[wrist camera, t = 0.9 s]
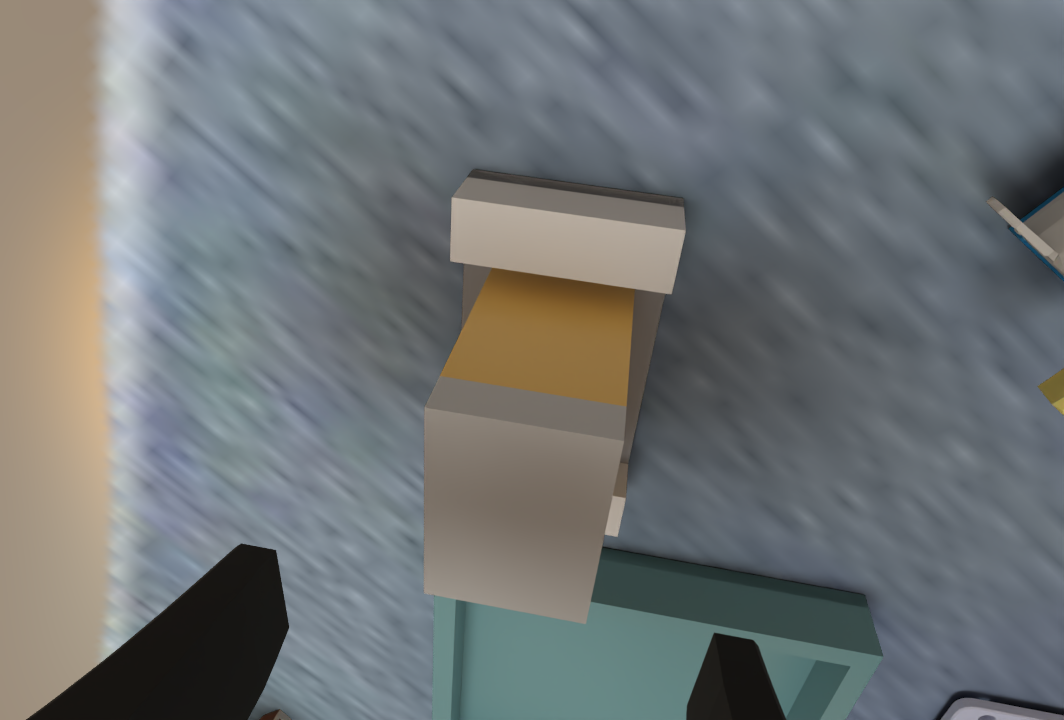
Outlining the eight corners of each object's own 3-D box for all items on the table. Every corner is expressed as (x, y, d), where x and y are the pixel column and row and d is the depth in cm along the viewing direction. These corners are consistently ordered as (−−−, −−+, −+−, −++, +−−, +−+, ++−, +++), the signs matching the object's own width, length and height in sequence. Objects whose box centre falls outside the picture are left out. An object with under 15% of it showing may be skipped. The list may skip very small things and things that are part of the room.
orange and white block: (635, 285, 17) (624, 441, 12) (605, 443, 20) (585, 624, 15) (493, 264, 17) (424, 407, 12) (483, 422, 20) (424, 593, 15)
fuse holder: (683, 198, 16) (685, 230, 14) (620, 487, 21) (617, 536, 19) (472, 169, 16) (451, 197, 15) (460, 459, 22) (444, 505, 20)
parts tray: (864, 595, 22) (883, 656, 20) (753, 800, 29) (759, 859, 27) (452, 520, 23) (434, 572, 21) (444, 736, 30) (431, 788, 28)
